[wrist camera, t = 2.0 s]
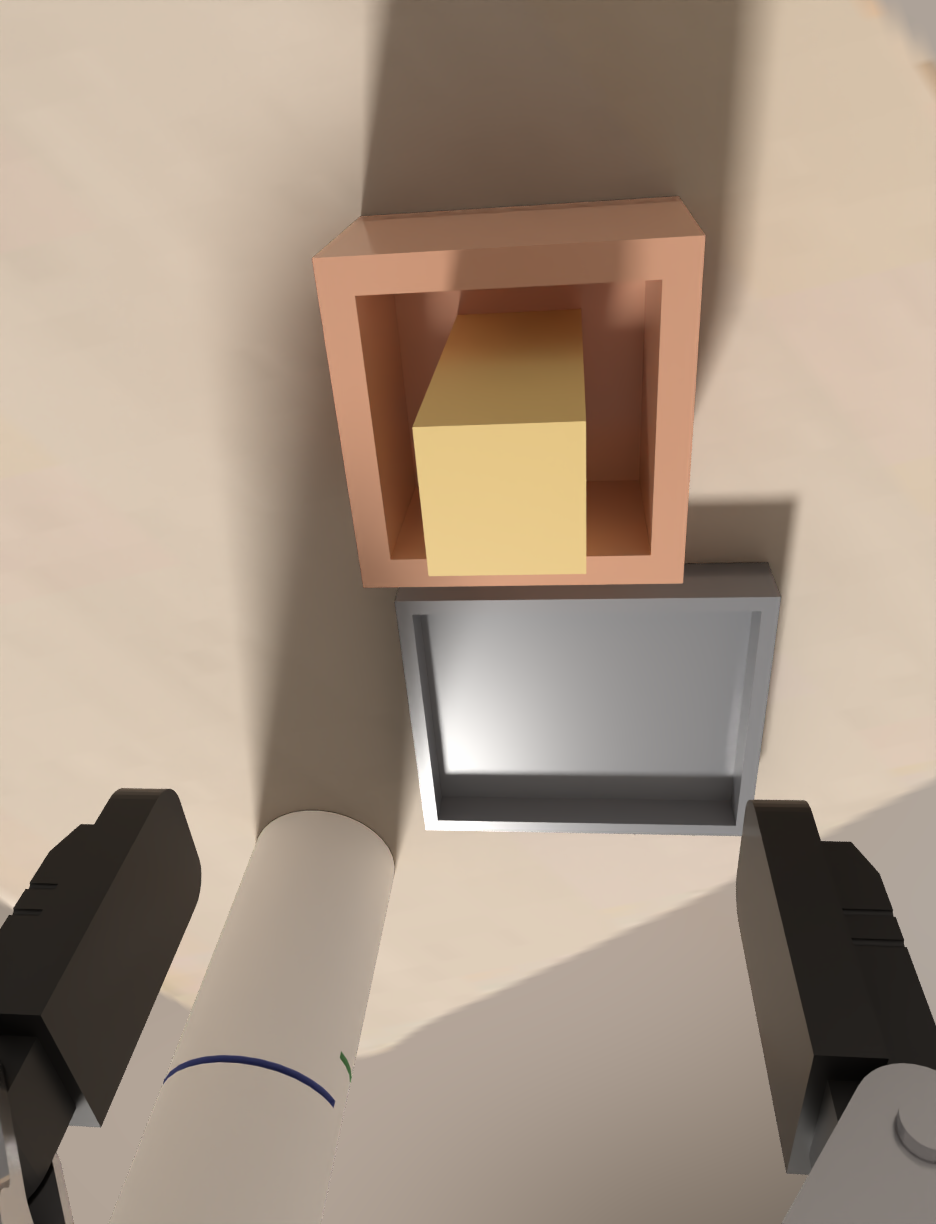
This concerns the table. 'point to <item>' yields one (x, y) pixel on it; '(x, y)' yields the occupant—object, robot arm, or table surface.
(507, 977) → the table surface
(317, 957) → the cylindrical container
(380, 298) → the terracotta storage bin
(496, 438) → the ochre block
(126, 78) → the table surface
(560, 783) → the grey tray
